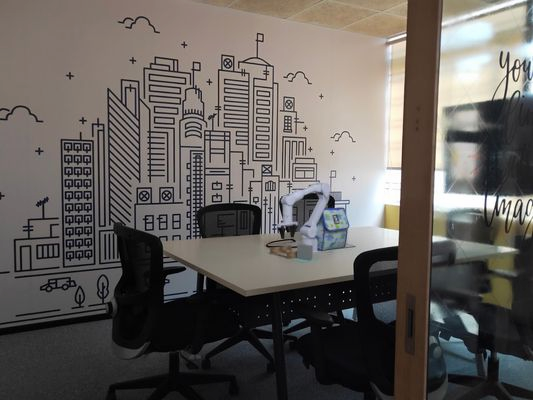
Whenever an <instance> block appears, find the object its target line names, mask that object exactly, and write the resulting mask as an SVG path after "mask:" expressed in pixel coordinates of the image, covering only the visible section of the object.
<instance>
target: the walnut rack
mask: <svg viewBox="0 0 533 400" xmlns="http://www.w3.org/2000/svg"><path fill="white" fill-rule="evenodd" d="M289 250H292V245H291V244H290V245H282V246H273V247H270V248H269V254H270V255H274V256H278V257H281V258H284V259H287V260H292V259H295V258H297V250H293V252H287V251H289Z"/></svg>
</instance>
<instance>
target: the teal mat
mask: <svg viewBox="0 0 533 400" xmlns="http://www.w3.org/2000/svg"><path fill="white" fill-rule="evenodd" d="M291 260H292V261H296V262H301V263H309V262H313V261H315V262H316V261H319V259H318V258H314V257H312V260H309V261H308V260H302V259H297V258H291Z"/></svg>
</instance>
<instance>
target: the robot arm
mask: <svg viewBox="0 0 533 400" xmlns="http://www.w3.org/2000/svg"><path fill="white" fill-rule="evenodd" d="M331 188H332V187H331V186H330V184H329V182H319V181H317V182H315V183H313V184H311V185H309V186H307V187H306V188H304V189H302V190H300V189H295V190H294V191H293V192H291V193H288V195H287V194H284V195H283V196H282V197H281V199H280V202H281V204H282V222H279V223H277V226H276V228H277V230H278V232H279V235H280V238H281V240H285V238H286V236H285V235H286V229H287V228H286V227H289V231H290V232H289V234H290V238H291V239H293V238H294V237H295V235H296V231H297V229H298V221H293V205H294V204H295V203H296V202H299V201H301V200H303V198H304V196H306V195H308V194H312V193H316V195H317V197H318V201H317V203H316V205H315V206H314V209H313V211H312V213H311V215H310V217H309V218H308V221H306V222H304V224H303V225H302V226H301V227H300V230H299V233H300V235H301V244H306V245H312V246H313V251H312V254H313V253H318V252H319V251H318V249H317V243H318V242H317V239H316V238H315V236H316V231H317V229H318V228H317V226H316V225H317V223H318V221H319V219H320V217H321V215H322V213H323V211H324V209H325V208H327V204H328V203H329V200H330V193H331V191H332V189H331Z"/></svg>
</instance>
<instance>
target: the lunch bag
mask: <svg viewBox="0 0 533 400" xmlns="http://www.w3.org/2000/svg"><path fill="white" fill-rule="evenodd" d="M347 216H348V215H347V211H346V208H345V207H329V208H328V207H325V209H324V211H323V213H322V215H321V217H320V219H319V221H318V223H317V225H316V226H317V228H318V229H317V231H316V236H315V238H316V239H317V242H318V243H317V250H319V251H326V250H331V249H332V250H333V249H339V248H344V247H346V246H347V239H348V232H349V231H348V229H349V228H350V222H349V220H348V217H347Z"/></svg>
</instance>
